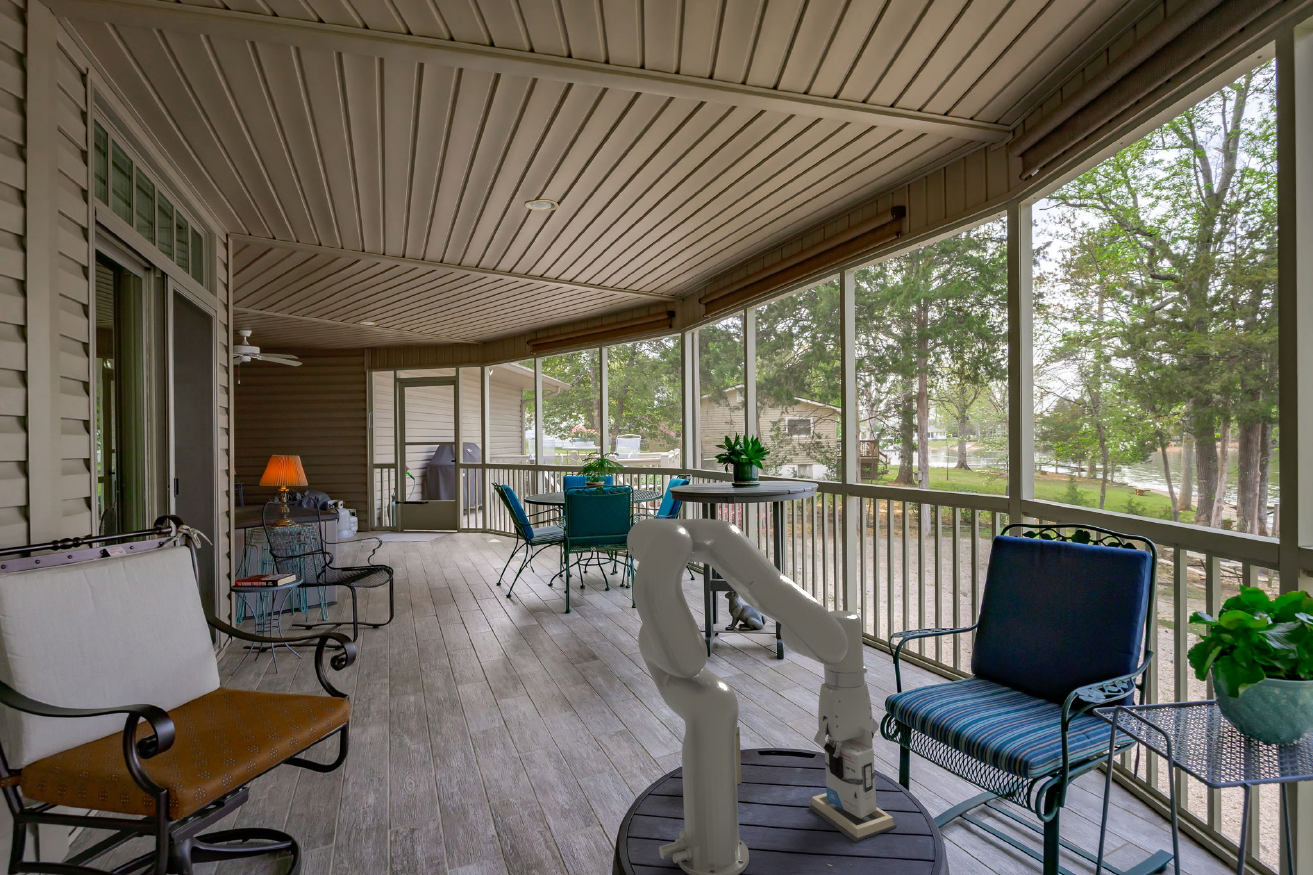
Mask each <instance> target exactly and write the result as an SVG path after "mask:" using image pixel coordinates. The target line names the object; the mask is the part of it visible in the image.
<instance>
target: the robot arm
mask: <svg viewBox="0 0 1313 875" xmlns="http://www.w3.org/2000/svg"><path fill="white" fill-rule="evenodd" d="M626 538H627V539H626V546H627V550H628V552H629V554H630V555H631V557H632V559H634V560H635V561H637V562H638V563H637V564H638V565H637V567H636V570H635V575H634V578H633V584H632V597H633V602H634V605H635V608H636V610H637V613H638V615H639V619H640V620H641V622H642V624H641V626H640V628H639V632H638V638H637V640H638V649H639V652H640V655H641V657H642V659H643V661H644V664H645V666H646V667H647V670H648V672H649V674H650V676H651V678H652V680H653V682H654V685H655V686H656V688H657V690H658V692H659V694H660V696H661V698H662V700H663V701H664V703H665V704H666V705H667V706H668V708H669V709H670V710H672V712H674V713H675V714H676V715H677V716H679V717H680V718H681V719H682V720H683V721H684V724H685V731H684V736H683V740H682V746H681V769H682V793H683V794H682V795H683V796H682V797H683V820H684V823H683V824H684V829H683V830H680V831H679V838H677V839H675V840H674V842H671V843H667V844H662V845H659V847H658V850H659V856H660V858H661V859H662V860H664V859H669V858H671V857H672V861H673V863H674V864H678V866H679V868H681V870H682V871H683V872H684V873H686V874H687V875H740V874H741V873H743V872H744V871H745V870H746V868H747V867H748V865H749V863H750V852H749V848H748V846H747V845H746V844H745V842H744V841H742V840H741V839H740V822H739V802H738V801H739V799H738V798H739V796H738V784H737V772H736V730H737V724H738V722H739V714H740V713H739V708H740V707H739V700H738V697H737V695H736V692H735V691H734V689H733V688H732V687H731V685H730V684H729V683H728V682H727V681H726V680H724V679H723V678H721V677H720V676H718V675H716V674H715V673H714V672H712V671H710V670H708V669H706V668H705V666H706V664H707V663H708V653H709V652H708V648H707V643H706V640H705V638H704V635H703V633H702V632H701V629H700V628H699V626H698V624H697V622H696V619H695V617H694V614H693V613H692V611H691V610H690V607H689V605H688V602H687V599H686V598H685V595H684V591H683V585H682V583H683V576H684V572H685V570H686V568H687V566H688V563H703V564H707V565H708V566H710V567H711V568H712V569H713V570H714V571H715V572H716V573H717V574H719V576H721V578H722V579H723V580H724V581H725V582H726V583H727V584H728V585H729V586H730V587H731V589H732V590H734V592H736V593H737V595H738V596H740V598H741V599H742V600H743V601H744V602H745V603H746V604H748V605H749V606H750V607H752V609H754V610H756V611H757V612H759V613H761V614H762V615H764V616H766V617H768V618H769V619H772V620H773V621H775V622H777V623H778V624H780V625H781V626H780V633H779V634H780V638H781V641H782V642H783V644H784V645H785V646H786V647H787V648H788V649H789V650H791V651H792V652H794V653H796V654H799V655H801V656H803V657H807V658H809V659H811V660H813V661H815V662H818V663H819V664H822V665H823V675H824V676H823V677H824V683H821V686H820V689H819V698H818V712H817V713H818V714H817V716H818V724H817V725H818V730H817V733H816V734H815V736H814V738H813V741H814V742H815V743H816V744H817V745H818V746H820V747H821V748H822V749H823V750H824V752H825V751H826V752H827V753H829V768H830V772H831V774H833V775H835V776H836V777H838V778H839V779H842V778H843V759H842V757H841V756H840V751H841V746H842V741H845V740H849V739H853V738H856V737H860V736H863V735H864V734H865V730H868V731H871V733H872V740H873V739H874V736H875V734H876V733H877V731H878V730H879V727H880V724H879V723H878V722H877V720H875V718H874V717H873V709H872V702H871V701H872V700H871V696H870V692H869V687H868V685H867V682H866V681H865V674H867V673H868V669H867V667H866V666H864V646H863V644H864V643H863V630H862V627H863V626H862V621H861V618H860V616H859V614H857V613H856V612H852V611H849V610H831V611H828V609H827V608H825V606H824V605H822V603H820V602H819V601H818V600H817V599H816V598H815V597H813V596H812V595H811V594H809V593H808V592H807V591H806V590H804V589H803V588H801V587H800V586H799V585H798V584H796V582H794V581H793V580H792V579H791V578H790V577H787V575H785V574H784V573H782V572H781V571H780V570H779V569H778V568H777V567H776V566H775V565H774V564H773V562H771V560H770V559H768V557H767V556H766V555H765V553H763V552H762V551H761V550H760V548H759V547H758V546H757V545H756V544H755V543H754V542H753V541H752V540H751V539H750V538H749V537H748V536H747V535H746V534H745V532H744V531H743V530H742V529H740V527H738V526H737V525H735V523H732V522H730V521H727V520H719V519H712V518H645V519H642V520H639V521H637V522H635V524H633V526H632V527H631V528H630V530H629V531H628V534H627V537H626ZM826 737H827V738H826ZM826 739H827V742H826V741H825V740H826ZM834 742H835V746H834V748H833V743H834Z"/></svg>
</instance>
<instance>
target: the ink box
mask: <svg viewBox="0 0 1313 875" xmlns="http://www.w3.org/2000/svg"><path fill="white" fill-rule="evenodd" d="M827 739H828V738H825V741H826V742H827ZM834 746H835V742H834V743H833V748H834ZM840 756H841V757H842V759H843V778H842V779H839V778H838V777H836V776H835V775H833V774H831V772H830V768H829V753H827V752H826V751H825V750H824V761H825V763H824V764H825V785H826V786H825V787H826V788H825V790H826V793H827V800H828V801H830V802H831V803H833V804H835V805H837V806H839V807H840V808H842V809H844V810H846V811H848V812H850V813H851V814H853V815H855V816H857V817H858V818H863V817H865V816H867V815H868V814H870V813H872V812H874V811H876V807H877V795H876V794H877V793H876V790H877V789H876V774H875V752H874V747H873V739H872V733H871V731H868V730H865V734H864V735H863V736H860V737H856V738H853V739H849V740H845V741H842V746H841V751H840Z"/></svg>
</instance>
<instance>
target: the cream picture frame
mask: <svg viewBox="0 0 1313 875" xmlns="http://www.w3.org/2000/svg"><path fill="white" fill-rule="evenodd" d="M811 802H812V803H811V804H810V805H809V807H808V808H809V809H810V810H811V811H812V812H813V813H815V814H816V815H818V816H819V817H821V819H822V820H825V822H827V823H828V824H829V825H830V826H831V825H832V827H834V828H835V829H837V830H838V831H839V832H841V833H842V834H843V835H844V836H846V837H847V838H849V839H850V840H851V841H853V842H854V843H856V842H859V841H861V840H864V839H867V838H871V837H872V836H876V835H879V834H881V833H884V832H887V831H890V830H893V829H895V828H897V824H896V823H895V822H894V817H893V816H892V815H890V814H888V813H887V812H885V811H884V810H882V809H881V808H879V807H878V806H876V811H874V812H872V813H870V814H868V815H867V816H865V817H863V818H858V817H857V816H855V815H853V814H851V813H850V812H848V811H846V810H844V809H842V808H840V807H839V806H837V805H835V804H833V803H831V802H830V801H828V800H827V792H824V793H820V794H818V795H815V796H812V797H811Z"/></svg>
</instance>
